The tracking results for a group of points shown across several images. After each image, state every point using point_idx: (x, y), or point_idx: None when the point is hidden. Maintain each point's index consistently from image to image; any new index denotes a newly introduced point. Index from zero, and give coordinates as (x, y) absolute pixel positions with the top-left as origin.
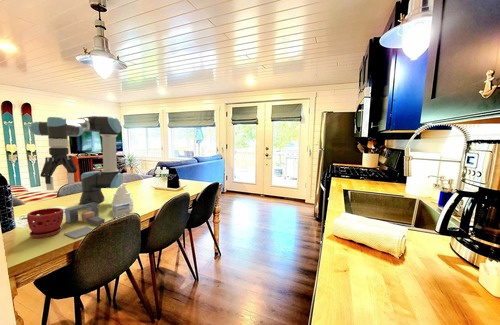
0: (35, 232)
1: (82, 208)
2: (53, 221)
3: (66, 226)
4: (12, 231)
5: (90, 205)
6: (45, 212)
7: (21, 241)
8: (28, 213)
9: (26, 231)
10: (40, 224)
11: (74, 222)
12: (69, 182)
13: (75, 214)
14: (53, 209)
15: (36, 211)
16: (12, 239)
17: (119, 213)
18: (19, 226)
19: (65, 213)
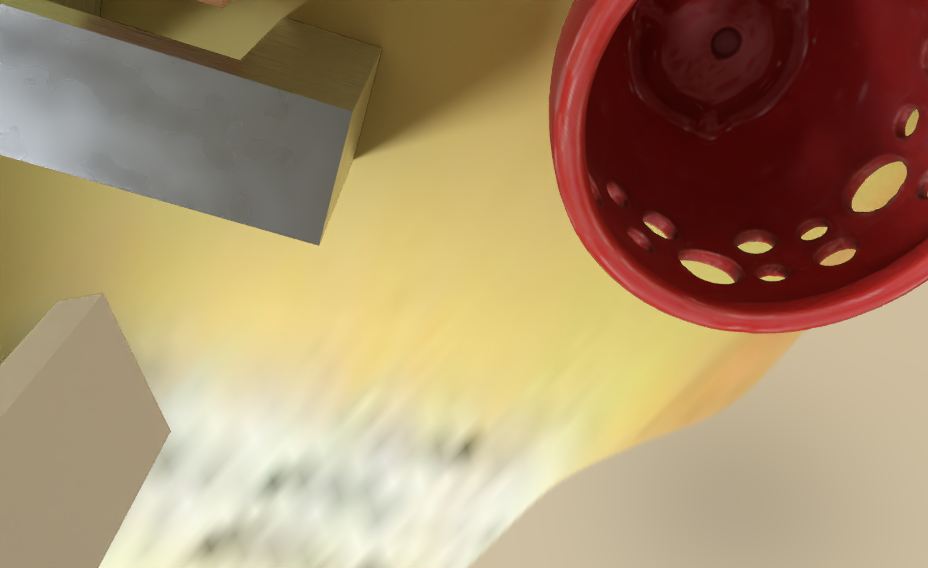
0: (872, 47)
1: (159, 43)
2: (589, 113)
3: (467, 15)
4: (671, 424)
5: (9, 4)
6: (634, 255)
7: None
8: (920, 277)
9: (660, 311)
10: (680, 194)
11: (333, 34)
12: (126, 443)
13: (292, 57)
14: (590, 188)
15: (753, 304)
16: None
17: None
18: (557, 478)
19: (334, 204)
